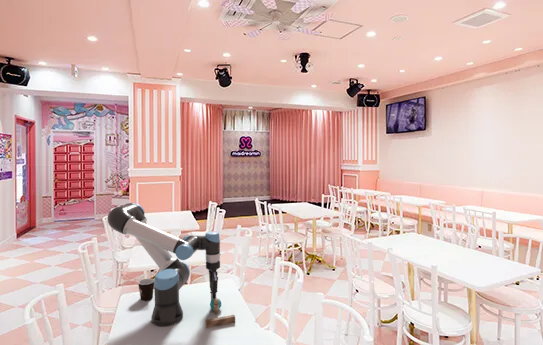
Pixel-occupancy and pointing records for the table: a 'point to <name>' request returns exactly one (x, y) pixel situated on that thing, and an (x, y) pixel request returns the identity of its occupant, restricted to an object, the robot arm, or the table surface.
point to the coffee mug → (146, 289)
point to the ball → (213, 304)
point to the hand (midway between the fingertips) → (213, 303)
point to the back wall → (220, 321)
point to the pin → (216, 305)
